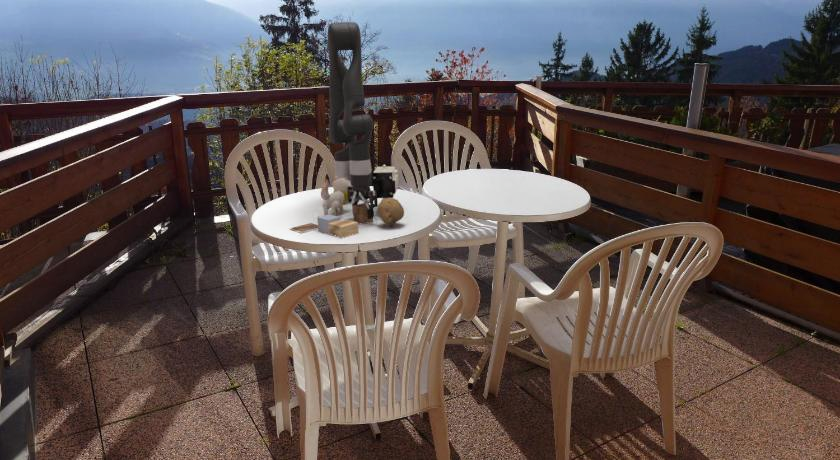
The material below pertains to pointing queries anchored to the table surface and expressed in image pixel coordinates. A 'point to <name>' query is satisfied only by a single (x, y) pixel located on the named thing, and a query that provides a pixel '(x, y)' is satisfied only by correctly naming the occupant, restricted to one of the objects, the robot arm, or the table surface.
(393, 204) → the natural sponge
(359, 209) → the walnut cube
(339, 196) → the toy
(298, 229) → the tile
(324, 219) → the bluegrey block
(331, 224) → the oak base
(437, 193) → the table surface
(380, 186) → the black and cream box
